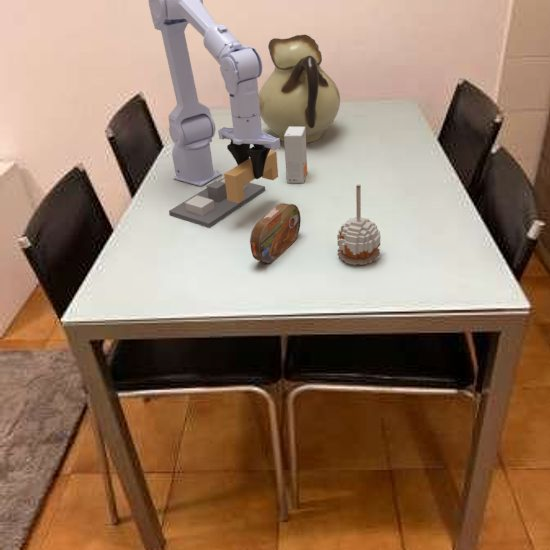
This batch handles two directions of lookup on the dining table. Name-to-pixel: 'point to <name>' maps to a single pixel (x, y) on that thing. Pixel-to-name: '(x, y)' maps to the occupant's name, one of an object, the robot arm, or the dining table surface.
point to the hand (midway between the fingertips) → (252, 175)
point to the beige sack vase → (298, 89)
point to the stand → (213, 203)
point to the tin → (275, 232)
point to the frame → (248, 176)
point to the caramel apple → (358, 238)
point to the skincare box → (295, 154)
